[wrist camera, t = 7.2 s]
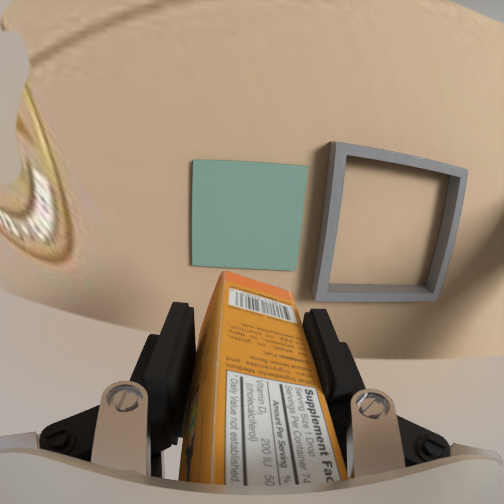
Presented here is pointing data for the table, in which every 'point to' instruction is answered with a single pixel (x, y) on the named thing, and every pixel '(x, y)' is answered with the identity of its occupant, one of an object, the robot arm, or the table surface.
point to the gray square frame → (331, 218)
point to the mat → (247, 214)
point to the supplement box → (256, 395)
